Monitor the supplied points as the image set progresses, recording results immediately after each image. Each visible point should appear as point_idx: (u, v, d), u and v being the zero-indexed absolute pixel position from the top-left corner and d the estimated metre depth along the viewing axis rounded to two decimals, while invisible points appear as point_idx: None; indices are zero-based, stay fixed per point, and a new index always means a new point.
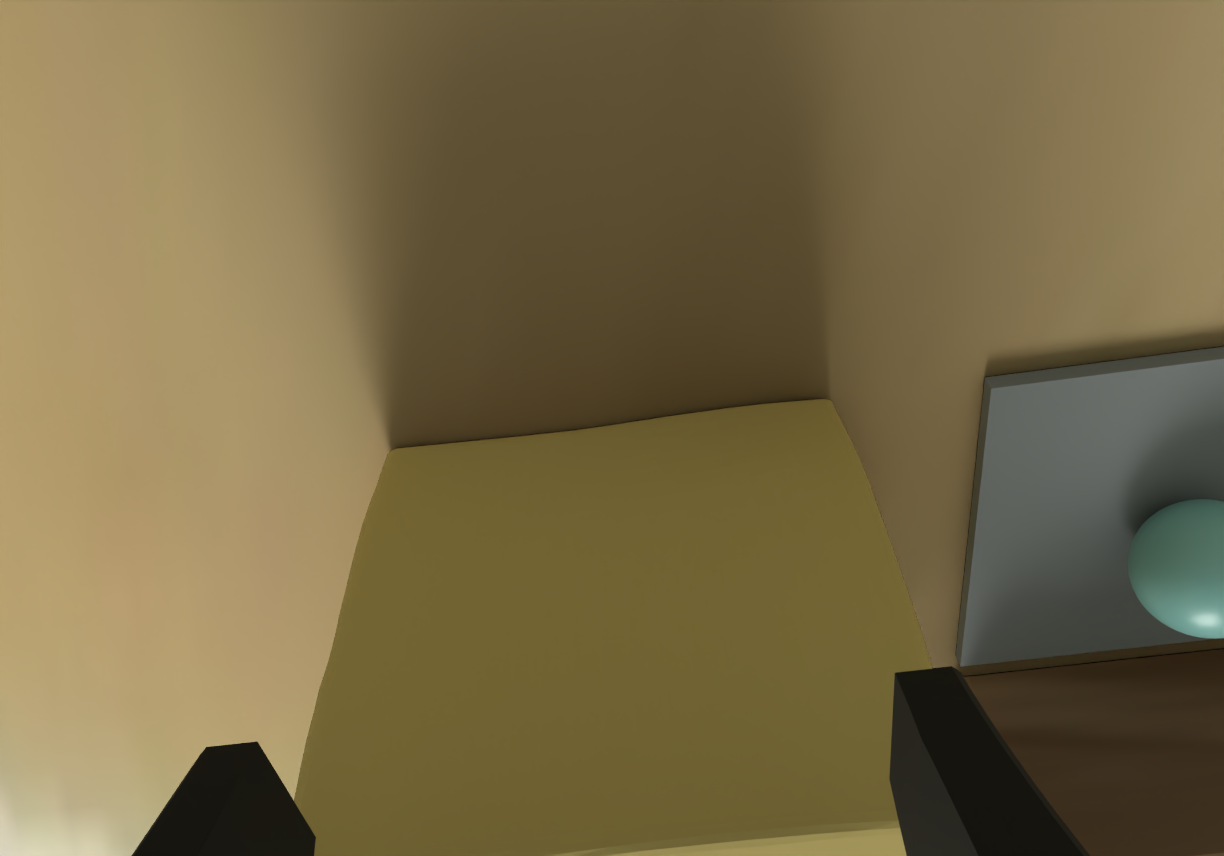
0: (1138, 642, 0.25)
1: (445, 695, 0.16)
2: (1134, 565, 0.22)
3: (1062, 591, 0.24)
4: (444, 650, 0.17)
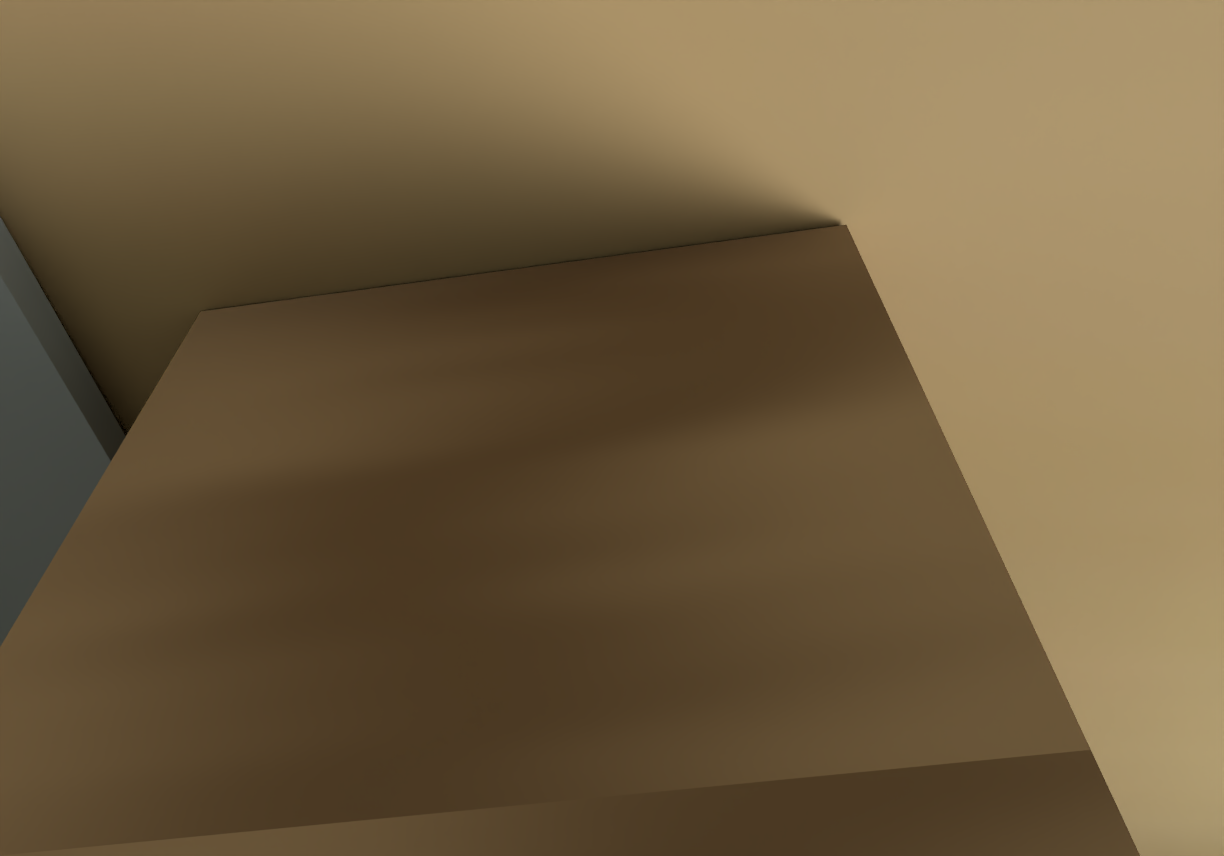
0: None
1: None
2: None
3: None
4: None
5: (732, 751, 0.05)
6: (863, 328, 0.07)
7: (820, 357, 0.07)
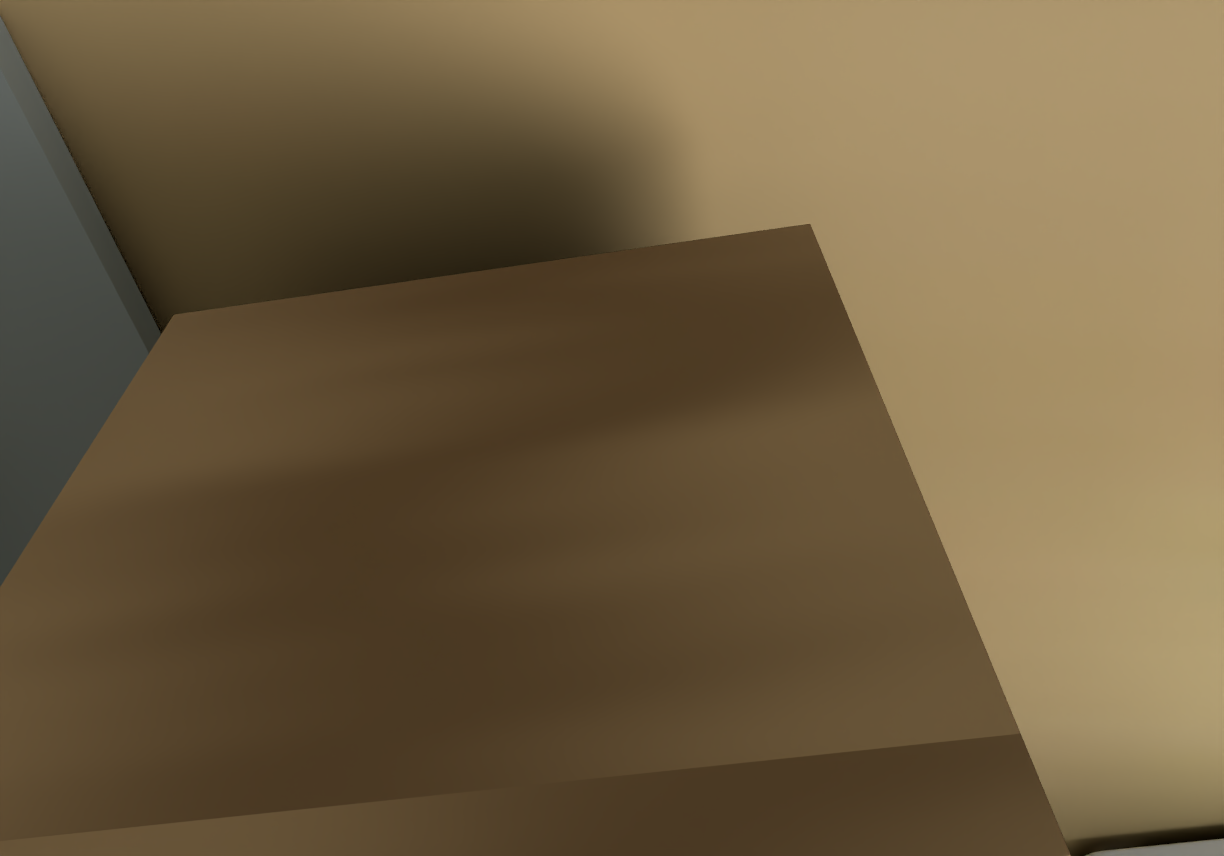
0: None
1: None
2: None
3: None
4: None
5: (672, 738, 0.05)
6: (820, 325, 0.08)
7: (778, 354, 0.07)
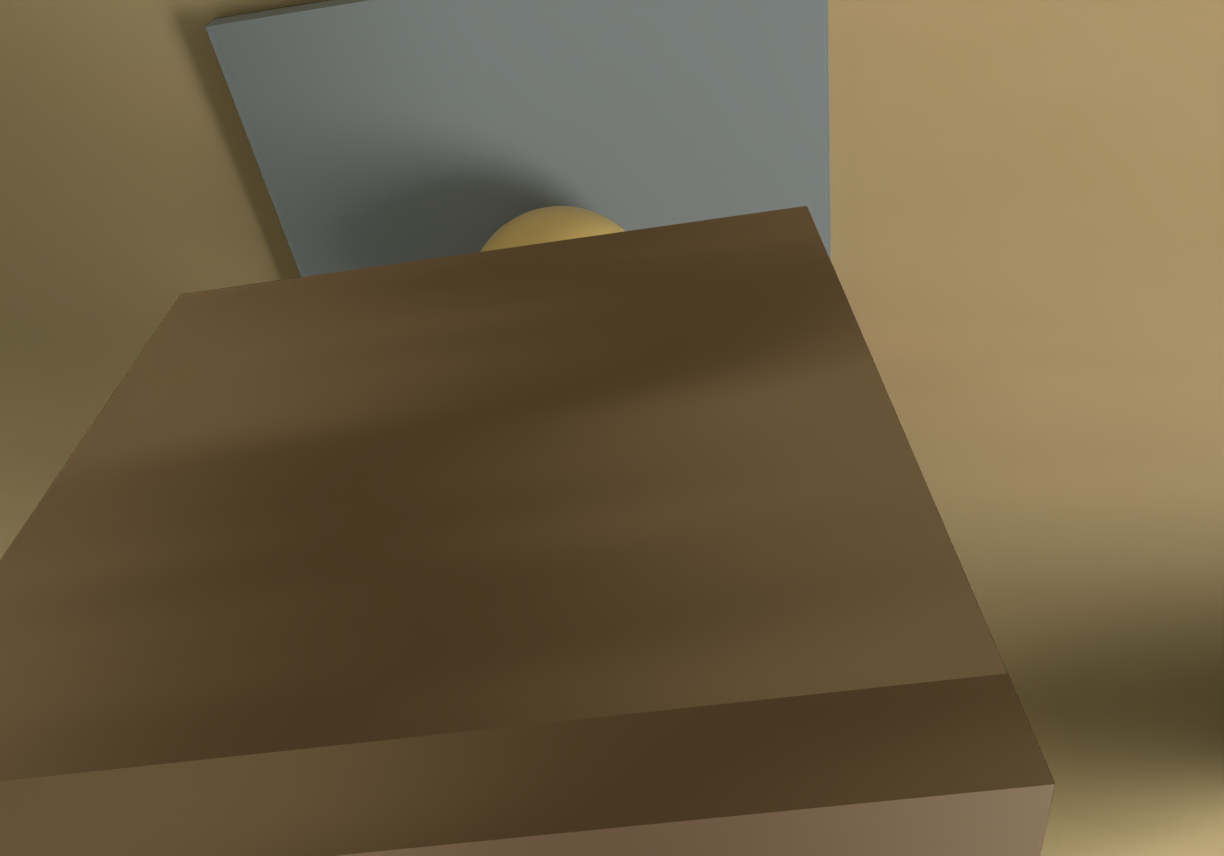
0: None
1: None
2: None
3: None
4: None
5: (667, 680, 0.05)
6: (816, 300, 0.08)
7: (774, 326, 0.07)
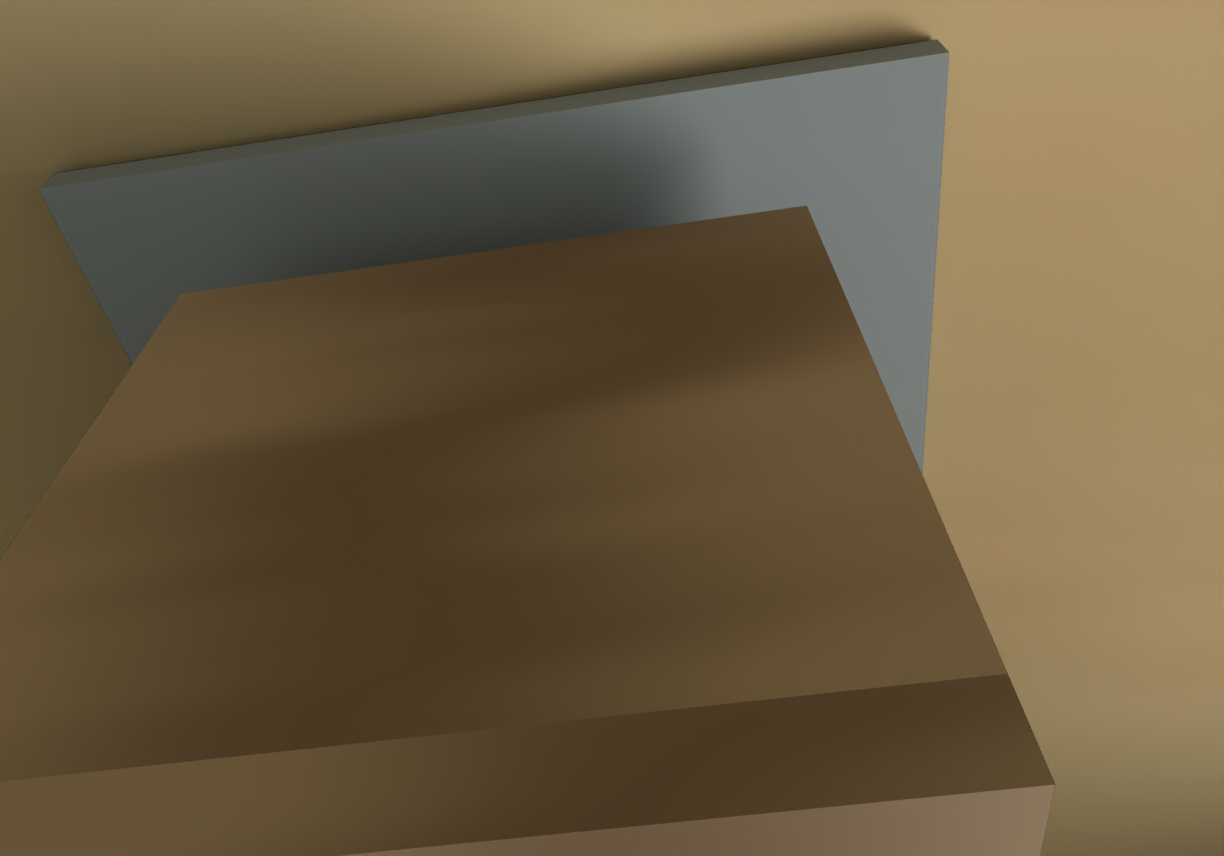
0: None
1: None
2: None
3: None
4: None
5: (666, 681, 0.05)
6: (816, 298, 0.08)
7: (773, 326, 0.07)
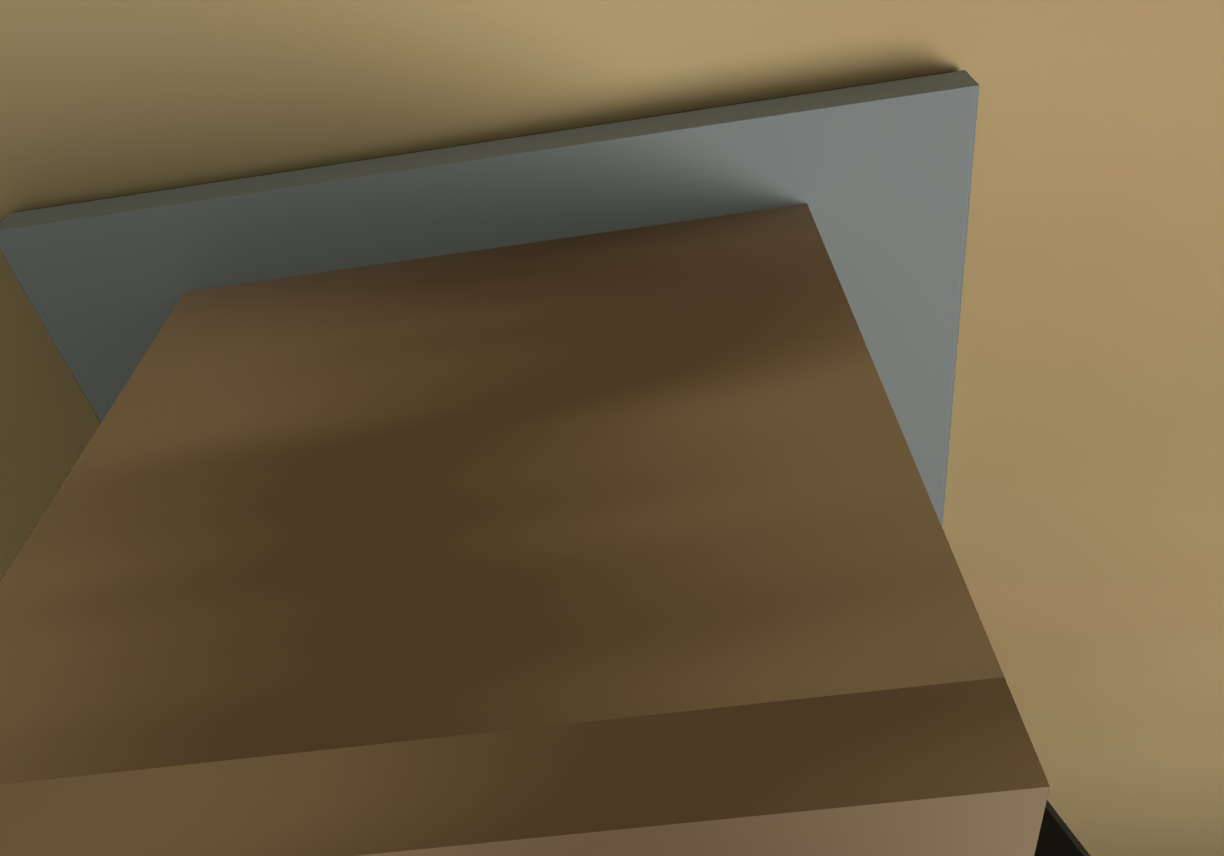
0: None
1: None
2: None
3: None
4: None
5: (671, 684, 0.05)
6: (818, 298, 0.08)
7: (775, 327, 0.08)
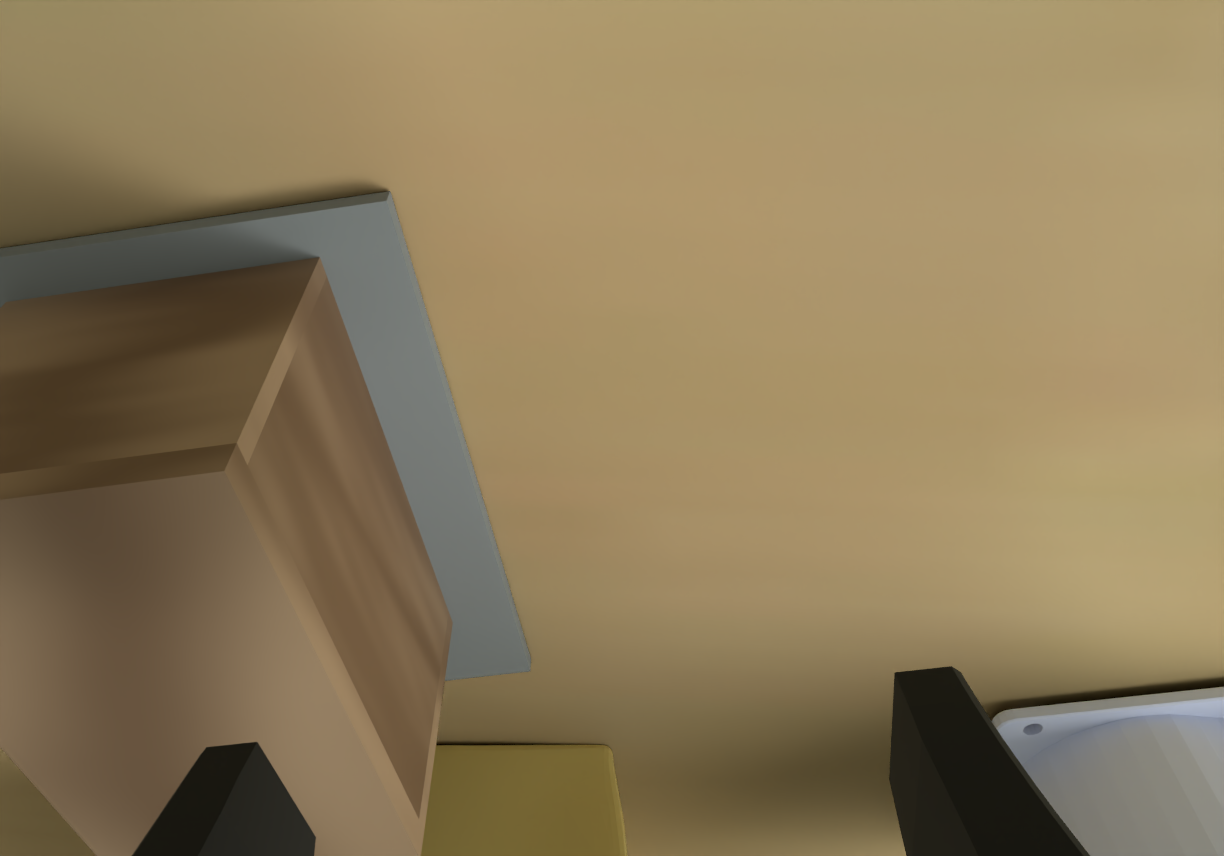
0: (483, 547, 0.22)
1: None
2: None
3: None
4: None
5: (128, 449, 0.14)
6: (286, 306, 0.17)
7: (258, 319, 0.16)
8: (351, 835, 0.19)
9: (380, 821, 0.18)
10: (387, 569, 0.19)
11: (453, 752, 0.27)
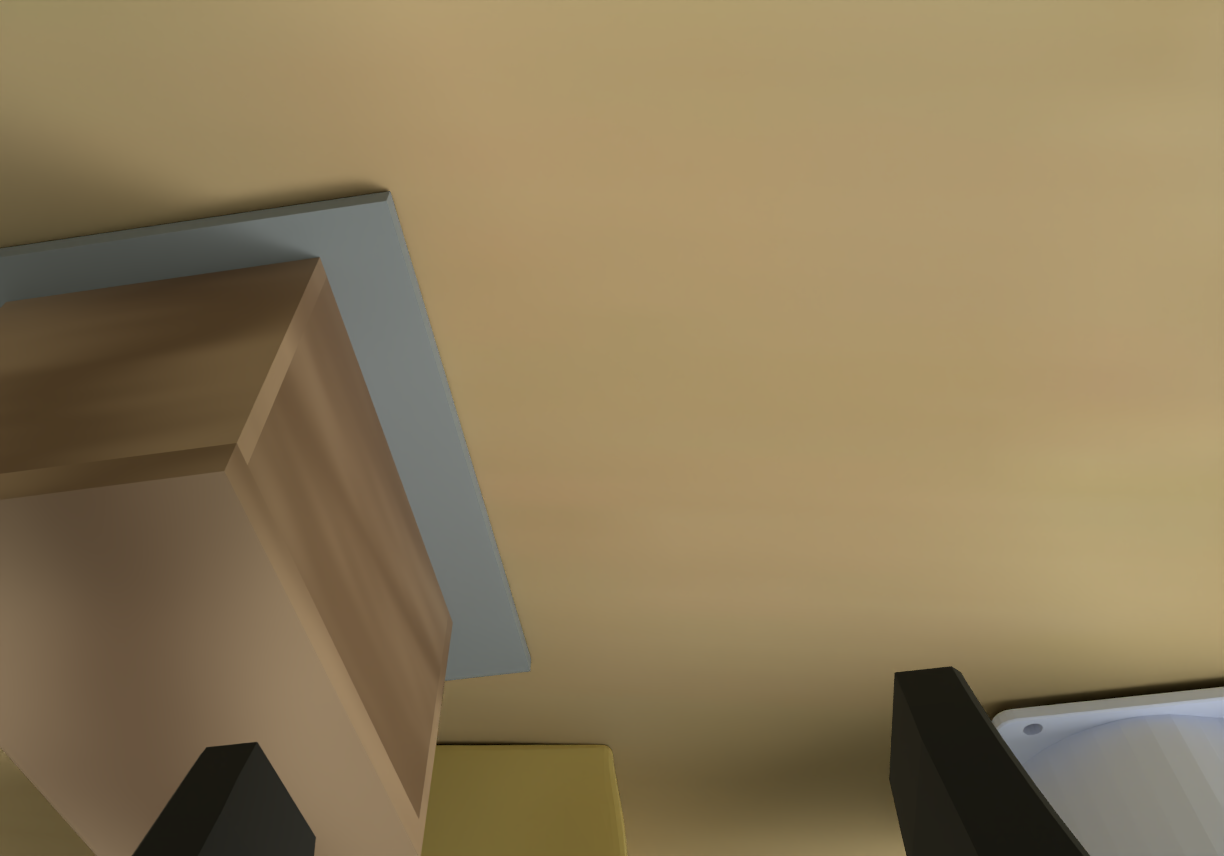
0: (483, 547, 0.22)
1: None
2: None
3: None
4: None
5: (128, 449, 0.14)
6: (286, 306, 0.17)
7: (258, 319, 0.16)
8: (351, 835, 0.19)
9: (380, 821, 0.18)
10: (387, 569, 0.19)
11: (453, 752, 0.27)
